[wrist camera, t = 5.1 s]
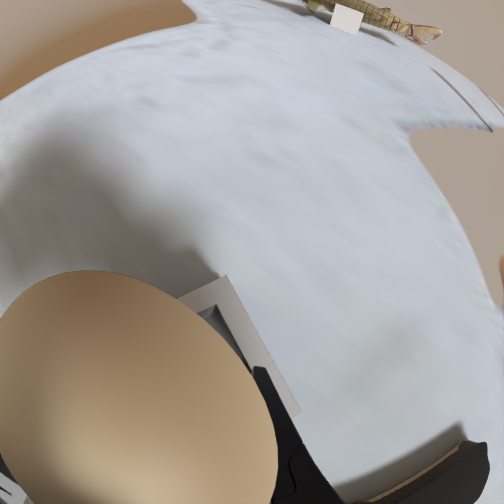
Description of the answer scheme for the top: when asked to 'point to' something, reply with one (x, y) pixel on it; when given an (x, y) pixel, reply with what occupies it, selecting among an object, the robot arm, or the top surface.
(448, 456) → the black sponge
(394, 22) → the wood carving
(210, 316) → the jig board
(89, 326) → the maple post
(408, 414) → the top surface
